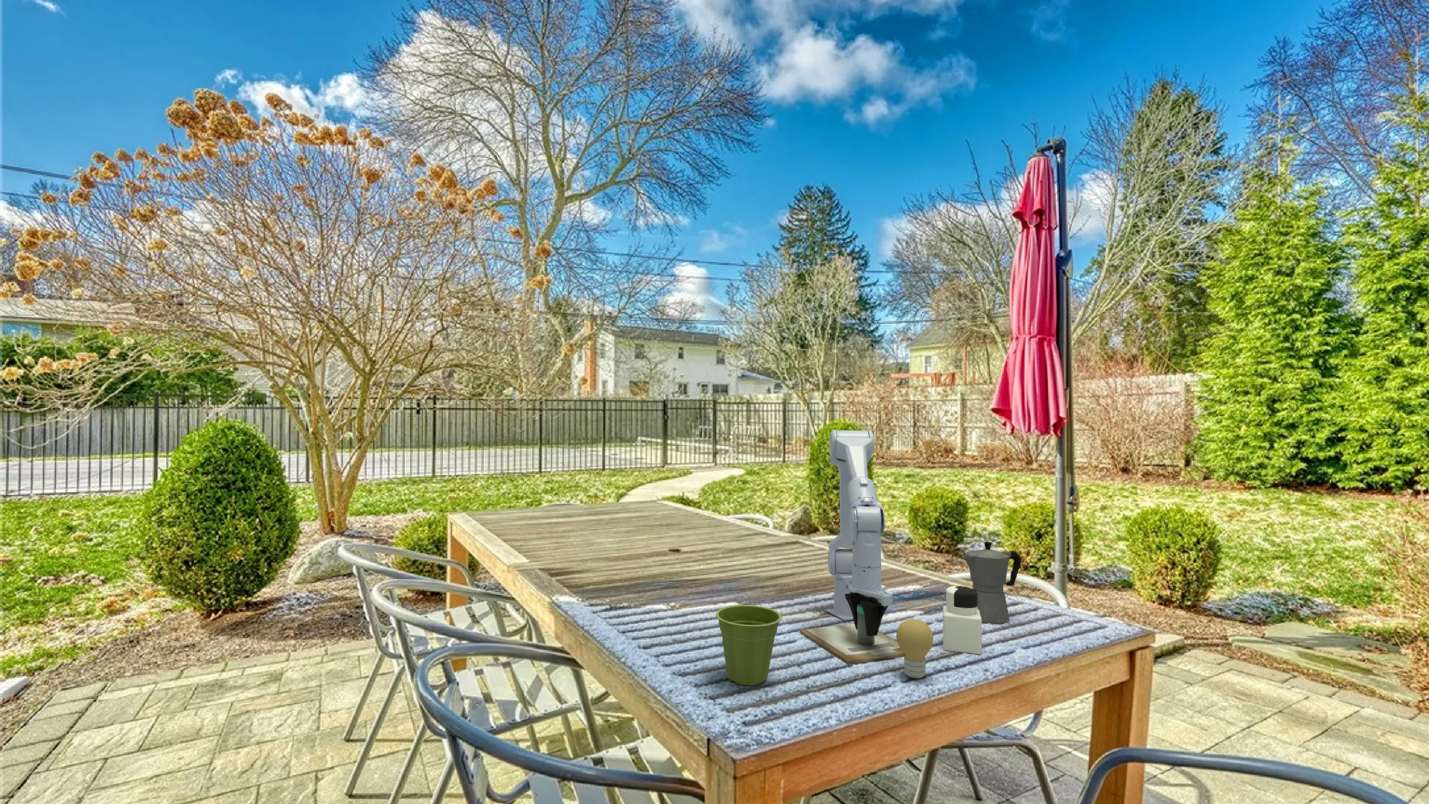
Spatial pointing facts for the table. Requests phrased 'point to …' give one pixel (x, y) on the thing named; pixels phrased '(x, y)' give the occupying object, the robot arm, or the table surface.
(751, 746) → the table surface
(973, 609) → the medicine bottle
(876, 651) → the clipboard
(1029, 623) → the table surface
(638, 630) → the table surface
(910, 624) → the light bulb
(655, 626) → the table surface
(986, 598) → the coffeepot
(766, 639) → the plant pot
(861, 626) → the teal topped grey cylinder
